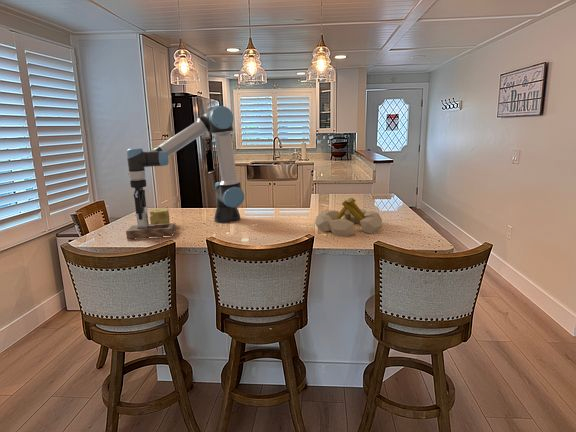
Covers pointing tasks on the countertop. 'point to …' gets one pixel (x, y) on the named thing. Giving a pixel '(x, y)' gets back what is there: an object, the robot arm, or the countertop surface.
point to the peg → (144, 218)
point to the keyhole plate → (151, 231)
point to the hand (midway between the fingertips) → (143, 224)
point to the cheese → (159, 216)
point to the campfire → (348, 220)
